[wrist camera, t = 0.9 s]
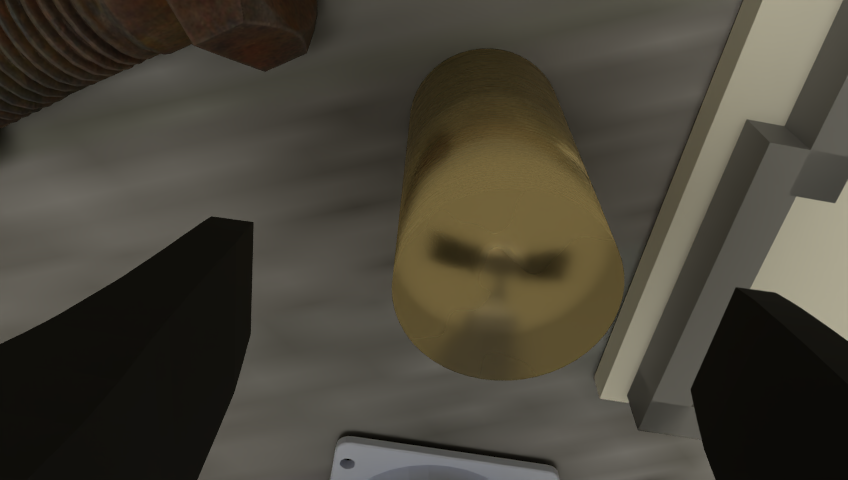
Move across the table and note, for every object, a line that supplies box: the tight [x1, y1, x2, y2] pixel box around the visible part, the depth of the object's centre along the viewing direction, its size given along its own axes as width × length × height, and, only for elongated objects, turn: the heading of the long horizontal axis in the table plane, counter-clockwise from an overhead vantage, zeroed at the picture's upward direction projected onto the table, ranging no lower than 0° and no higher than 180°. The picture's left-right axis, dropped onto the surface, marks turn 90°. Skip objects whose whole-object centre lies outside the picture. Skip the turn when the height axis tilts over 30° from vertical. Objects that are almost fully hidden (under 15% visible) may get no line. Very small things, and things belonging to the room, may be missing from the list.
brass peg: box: [392, 49, 624, 380], centre depth 16 cm, size 4×4×8 cm
